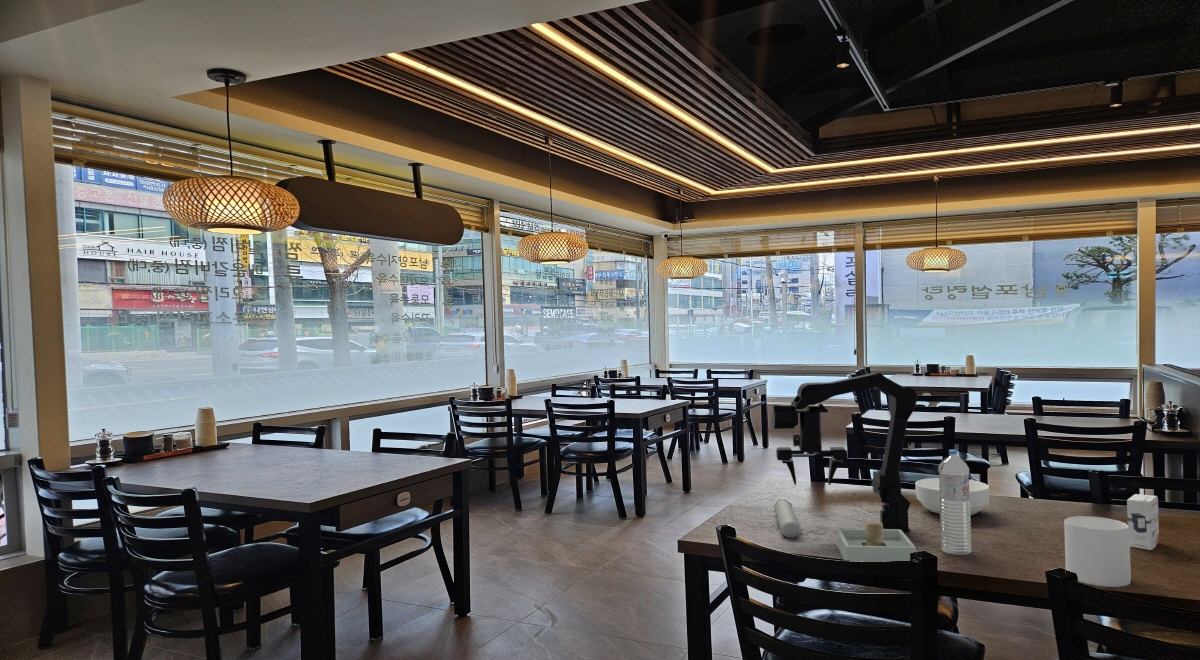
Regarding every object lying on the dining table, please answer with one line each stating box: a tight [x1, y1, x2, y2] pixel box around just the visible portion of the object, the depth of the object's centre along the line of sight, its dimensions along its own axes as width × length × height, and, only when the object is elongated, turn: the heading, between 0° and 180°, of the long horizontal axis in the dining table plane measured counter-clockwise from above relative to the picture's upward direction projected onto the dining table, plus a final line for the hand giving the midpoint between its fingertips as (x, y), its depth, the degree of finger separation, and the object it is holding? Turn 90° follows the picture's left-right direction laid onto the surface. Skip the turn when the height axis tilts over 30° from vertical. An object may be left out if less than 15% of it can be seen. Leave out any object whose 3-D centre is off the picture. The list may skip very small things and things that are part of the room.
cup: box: [1063, 515, 1132, 588], centre depth 160 cm, size 12×12×12 cm
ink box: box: [1126, 493, 1160, 551], centre depth 182 cm, size 8×5×12 cm, turn 133°
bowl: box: [915, 477, 990, 516], centre depth 217 cm, size 20×20×8 cm
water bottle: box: [937, 449, 972, 556], centre depth 181 cm, size 7×7×25 cm
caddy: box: [836, 528, 917, 562], centre depth 179 cm, size 16×16×4 cm
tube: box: [773, 498, 800, 539], centre depth 208 cm, size 5×5×25 cm
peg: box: [864, 520, 883, 546], centre depth 179 cm, size 4×4×8 cm
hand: (812, 484), depth 204 cm, fingers open, 9 cm apart
